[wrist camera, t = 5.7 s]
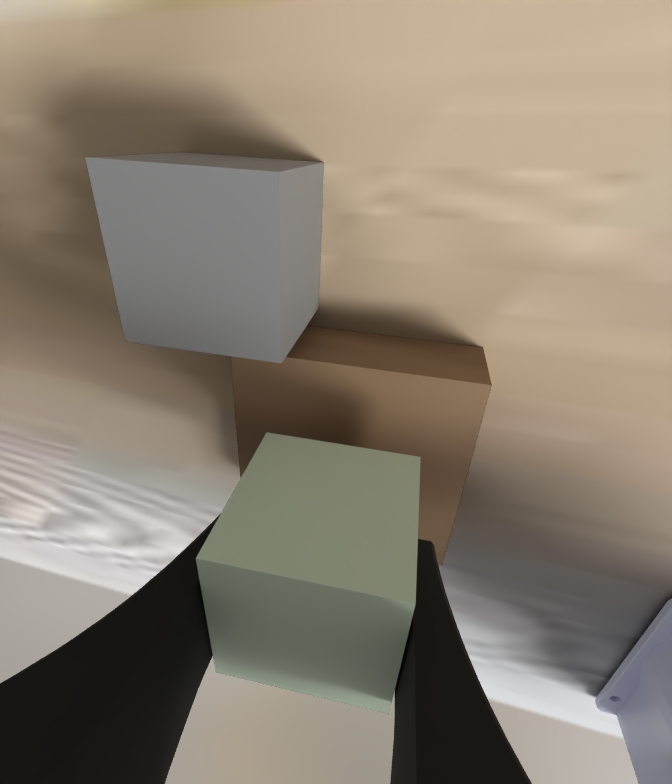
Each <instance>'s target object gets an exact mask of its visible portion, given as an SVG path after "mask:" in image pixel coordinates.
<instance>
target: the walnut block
mask: <svg viewBox="0 0 672 784" xmlns="http://www.w3.org/2000/svg"><path fill="white" fill-rule="evenodd" d="M230 357H231V369H232V381H233V393H234V405H235V417H236V429H237V441H238V453H239V465H240V477H242V475H243V473H244V472H245V470H246V468H247V466H248V465H249V463H250V461H251V459H252V457H253V456H254V454H255V452H256V450H257V449H258V447H259V445H260V443H261V441H262V440H263V438H264V436H265V434H266V433H267V432H268V433H274V434H280V435H286V436H293V437H299V438H305V439H311V440H318V441H324V442H330V443H337V444H343V445H349V446H355V447H362V448H368V449H374V450H380V451H387V452H393V453H399V454H406V455H412V456H418V457H421V460H420V490H419V520H418V539H422V540H427V541H431V542H432V543H433V544H434V547H435V553H436V558H437V562H438V564H441V565H442V563H443V560H444V556H445V552H446V549H447V545H448V542H449V538H450V534H451V531H452V527H453V523H454V520H455V516H456V513H457V509H458V505H459V502H460V498H461V495H462V491H463V487H464V484H465V480H466V476H467V473H468V469H469V466H470V462H471V458H472V455H473V451H474V447H475V444H476V440H477V437H478V433H479V429H480V426H481V422H482V418H483V415H484V411H485V408H486V404H487V400H488V397H489V393H490V390H491V386H492V384H491V380H490V376H489V372H488V367H487V363H486V359H485V354H484V350H483V347H475V346H467V345H459V344H451V343H443V342H434V341H426V340H418V339H410V338H402V337H394V336H386V335H377V334H369V333H361V332H353V331H345V330H337V329H329V328H321V327H312V326H306V328H305V329H304V331H303V332H302V334H301V335H300V337H299V338H298V340H297V341H296V343H295V344H294V346H293V347H292V349H291V350H290V352H289V353H288V354H287V356H286V357H285V359H284V360H283V362H282V363H276V362H269V361H261V360H254V359H247V358H240V357H232V356H230Z"/></svg>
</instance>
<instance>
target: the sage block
mask: <svg viewBox="0 0 672 784" xmlns="http://www.w3.org/2000/svg"><path fill="white" fill-rule="evenodd" d="M420 460H421V457H418V456H412V455H406V454H399V453H393V452H387V451H380V450H374V449H368V448H362V447H355V446H349V445H343V444H337V443H330V442H324V441H318V440H311V439H305V438H299V437H293V436H286V435H280V434H274V433H268V432H267V433H266V434H265V436H264V438H263V440H262V441H261V443H260V445H259V447H258V449H257V450H256V452H255V454H254V456H253V457H252V459H251V461H250V463H249V465H248V466H247V468H246V470H245V472H244V473H243V475H242V477H241V479H240V481H239V482H238V484H237V486H236V488H235V490H234V491H233V493H232V495H231V497H230V498H229V500H228V502H227V504H226V506H225V507H224V509H223V511H222V513H221V514H220V516H219V518H218V520H217V522H216V523H215V525H214V527H213V529H212V530H211V532H210V534H209V536H208V538H207V539H206V541H205V543H204V545H203V546H202V548H201V550H200V552H199V554H198V555H197V557H196V563H197V569H198V574H199V580H200V586H201V591H202V597H203V603H204V608H205V614H206V620H207V625H208V631H209V637H210V642H211V648H212V654H213V659H214V664H215V670H216V672H217V673H221V674H225V675H229V676H233V677H238V678H242V679H245V680H250V681H254V682H258V683H262V684H266V685H270V686H275V687H278V688H283V689H287V690H291V691H295V692H299V693H303V694H307V695H312V696H316V697H320V698H324V699H328V700H332V701H337V702H341V703H345V704H349V705H353V706H357V707H361V708H365V709H370V710H373V711H378V712H382V713H386V714H389V711H390V707H391V703H392V699H393V695H394V690H395V686H396V682H397V678H398V674H399V670H400V666H401V662H402V658H403V654H404V650H405V645H406V641H407V637H408V633H409V629H410V625H411V621H412V617H413V613H414V609H415V604H416V579H417V549H418V520H419V490H420Z"/></svg>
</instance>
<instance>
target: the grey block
mask: <svg viewBox="0 0 672 784" xmlns="http://www.w3.org/2000/svg"><path fill="white" fill-rule="evenodd" d="M85 159H86V164H87V168H88V173H89V178H90V182H91V187H92V191H93V196H94V201H95V205H96V210H97V214H98V219H99V224H100V228H101V233H102V237H103V242H104V246H105V251H106V256H107V260H108V265H109V269H110V274H111V279H112V283H113V288H114V292H115V297H116V301H117V306H118V311H119V315H120V320H121V324H122V329H123V334H124V338H125V342H131V343H138V344H146V345H153V346H160V347H167V348H175V349H182V350H189V351H196V352H203V353H211V354H218V355H225V356H232V357H240V358H247V359H254V360H261V361H269V362H276V363H282V362H283V360H284V359H285V357H286V356H287V354H288V353H289V352H290V350H291V349H292V347H293V346H294V344H295V343H296V341H297V340H298V338H299V337H300V335H301V334H302V332H303V331H304V329H305V328H306V326H307V325H308V323H309V322H310V320H311V319H312V317H313V316H314V314H315V313H316V311H317V310H318V308H319V290H320V261H321V232H322V203H323V174H324V162H314V161H300V160H286V159H272V158H258V157H244V156H230V155H216V154H202V153H188V152H175V153H156V154H137V155H118V156H99V157H85Z"/></svg>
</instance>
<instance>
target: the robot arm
mask: <svg viewBox="0 0 672 784" xmlns="http://www.w3.org/2000/svg"><path fill="white" fill-rule="evenodd" d="M219 516H220V515H219ZM219 516H218V517H217V518H216V519H215V520H214V521H213V522H212V523H211V524H210V525H209V526H208V527H207V528H206V529H205V530H204V531H203V532H202V533H201V534H200V535H199V536H198V537H197V538H196V539H195V540H194V541H193V542H192V543H191V544H190V545H189V546H188V547H187V548H186V549H185V550H183V551H182V552H181V553H180V554H179V555H178V556H177V557H176V558H175V559H174V560H173V561H172V562H171V563H170V564H168V565H167V566H166V567H165V568H164V569H163V570H162V571H160V572H159V573H158V574H157V575H156V576H155V577H153V578H152V579H151V580H150V581H149V582H148V583H146V584H145V585H144V586H143V587H142V588H141V589H139V590H138V591H137V592H136V593H134V594H133V595H132V596H131V597H129V599H127V600H126V601H125V602H123V603H122V604H121V605H119V606H118V607H117V608H115V609H114V610H113V611H111V612H110V613H109V614H107V615H106V616H105V617H103V618H102V619H100V620H99V621H98V622H96V623H95V624H93V625H92V626H90V627H89V628H88V629H86V630H85V631H84V632H82V633H80V634H79V635H78V636H76V637H75V638H73V639H72V640H70V641H69V642H67V643H66V644H64V645H63V646H61V647H60V648H58V649H57V650H55V651H53V652H52V653H50V654H48V655H47V656H45V657H44V658H42V659H40V660H39V661H37V662H36V663H34V664H32V665H30V666H29V667H27V668H26V669H24V670H23V671H21V672H19V673H17V674H16V675H14V676H12V677H11V678H9V679H7V680H6V681H4V682H2V683H0V784H165V781H166V778H167V775H168V772H169V769H170V766H171V763H172V760H173V757H174V755H175V752H176V749H177V746H178V743H179V740H180V737H181V735H182V732H183V729H184V726H185V723H186V721H187V718H188V715H189V712H190V710H191V707H192V704H193V702H194V699H195V696H196V693H197V691H198V688H199V686H200V683H201V681H202V678H203V676H204V674H205V671H206V669H207V667H208V665H209V663H210V660H211V658H212V656H213V654H212V648H211V642H210V637H209V631H208V625H207V620H206V614H205V608H204V603H203V597H202V591H201V586H200V580H199V574H198V569H197V563H196V557H197V555H198V554H199V552H200V550H201V548H202V546H203V545H204V543H205V541H206V539H207V538H208V536H209V534H210V532H211V530H212V529H213V527H214V525H215V523H216V522H217V520H218V518H219ZM595 702H596V705H597V708H598V709H599V710H601V711H602V712H606V713H610V714H615V715H617V718H618V721H619V724H620V727H621V730H622V733H623V736H624V739H625V743H626V746H627V749H628V752H629V755H630V757H631V761H632V764H633V767H634V770H635V774H636V777H637V780H638V783H639V784H672V598H671V599H670V600H669V601H668V602H667V603H666V604H665V606H664V607H663V608H662V610H661V611H660V612H659V614H658V615H657V616H656V618H655V619H654V620H653V622H652V623H651V624H650V626H649V627H648V629H647V630H646V631H645V633H644V634H643V635H642V637H641V638H640V639H639V641H638V642H637V643H636V645H635V646H634V647H633V649H632V650H631V652H630V653H629V654H628V656H627V657H626V658H625V660H624V661H623V662H622V664H621V665H620V666H619V668H618V669H617V670H616V672H615V673H614V674H613V676H612V677H611V679H610V680H609V681H608V683H607V684H606V685H605V687H604V688H603V689H602V691H601V692H600V693H599V695H598V696H597V697H596V699H595ZM390 784H532V783H531V781H530V780H529V778H528V776H527V775H526V772H525V771H524V769H523V767H522V765H521V764H520V762H519V760H518V758H517V756H516V754H515V753H514V751H513V749H512V747H511V745H510V743H509V742H508V740H507V738H506V736H505V734H504V732H503V730H502V728H501V726H500V724H499V722H498V720H497V718H496V716H495V714H494V712H493V710H492V708H491V706H490V703H489V701H488V699H487V697H486V695H485V693H484V691H483V689H482V686H481V684H480V682H479V680H478V677H477V675H476V673H475V670H474V668H473V666H472V663H471V661H470V658H469V656H468V654H467V651H466V649H465V646H464V644H463V641H462V638H461V636H460V633H459V630H458V628H457V625H456V622H455V619H454V616H453V613H452V610H451V608H450V605H449V602H448V599H447V595H446V592H445V589H444V585H443V582H442V578H441V575H440V571H439V567H438V562H437V558H436V553H435V547H434V544H433V543H432V542H431V541H427V540H422V539H418V549H417V579H416V604H415V609H414V613H413V617H412V621H411V625H410V629H409V633H408V637H407V641H406V645H405V650H404V654H403V658H402V662H401V666H400V670H399V674H398V678H397V682H396V686H395V726H394V745H393V758H392V771H391V783H390Z"/></svg>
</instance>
